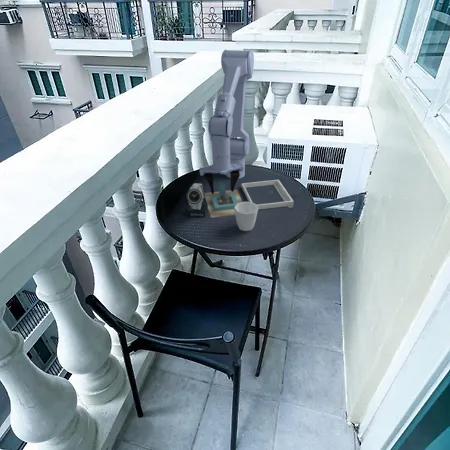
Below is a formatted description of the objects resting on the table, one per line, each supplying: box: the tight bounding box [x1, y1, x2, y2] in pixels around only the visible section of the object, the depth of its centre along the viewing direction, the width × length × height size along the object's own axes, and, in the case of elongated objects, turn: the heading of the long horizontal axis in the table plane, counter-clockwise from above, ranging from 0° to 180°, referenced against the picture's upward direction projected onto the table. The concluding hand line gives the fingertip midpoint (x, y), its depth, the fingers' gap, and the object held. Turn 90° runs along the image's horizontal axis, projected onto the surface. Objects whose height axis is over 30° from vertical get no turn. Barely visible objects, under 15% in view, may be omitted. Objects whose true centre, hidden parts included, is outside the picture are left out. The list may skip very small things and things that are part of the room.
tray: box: [241, 179, 295, 211], centre depth 115 cm, size 16×14×2 cm
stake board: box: [203, 189, 243, 218], centre depth 111 cm, size 16×12×4 cm
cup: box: [234, 200, 259, 232], centre depth 99 cm, size 7×10×8 cm
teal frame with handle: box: [211, 181, 238, 211], centre depth 111 cm, size 10×8×5 cm
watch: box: [186, 183, 209, 218], centre depth 104 cm, size 6×8×11 cm
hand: (222, 191), depth 114 cm, fingers open, 6 cm apart
